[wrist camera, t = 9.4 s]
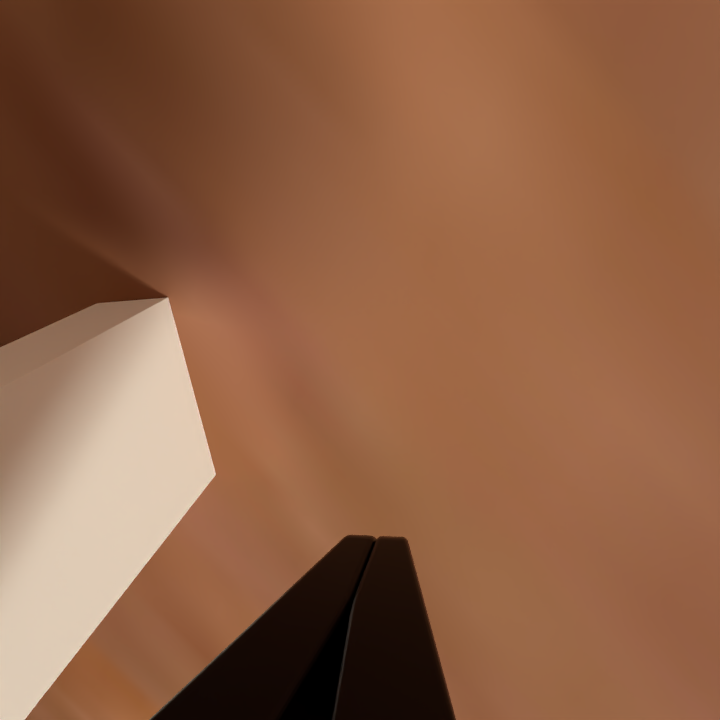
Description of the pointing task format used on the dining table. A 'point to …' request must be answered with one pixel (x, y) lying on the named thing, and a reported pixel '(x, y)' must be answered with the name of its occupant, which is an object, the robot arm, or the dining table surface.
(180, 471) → the domino
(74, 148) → the dining table surface
